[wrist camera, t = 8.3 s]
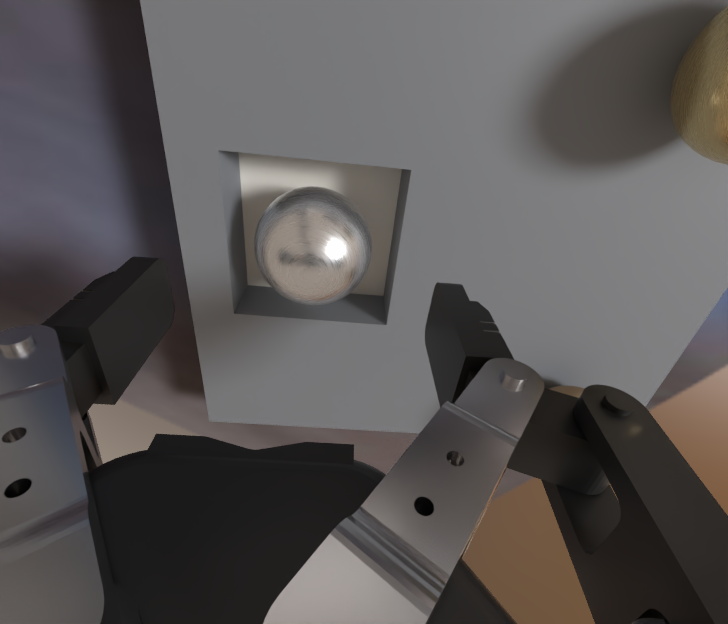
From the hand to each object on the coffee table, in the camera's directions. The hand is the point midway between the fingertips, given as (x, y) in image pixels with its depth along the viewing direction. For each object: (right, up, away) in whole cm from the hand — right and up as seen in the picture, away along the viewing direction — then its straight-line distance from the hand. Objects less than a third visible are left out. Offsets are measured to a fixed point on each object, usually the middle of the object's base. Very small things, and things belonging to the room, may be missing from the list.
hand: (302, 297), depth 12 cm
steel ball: (0, +2, +3) cm, 4 cm away
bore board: (+6, +3, +6) cm, 9 cm away
